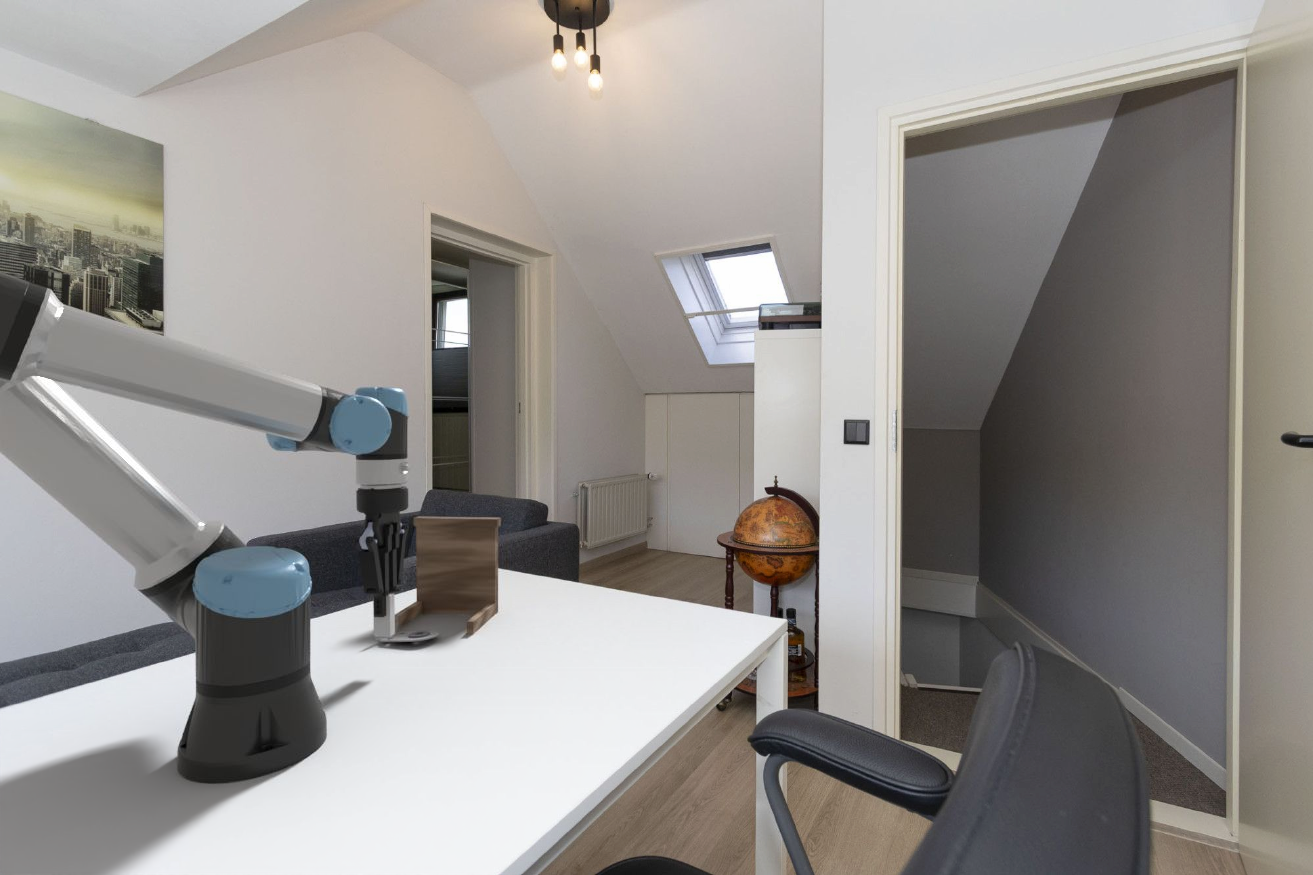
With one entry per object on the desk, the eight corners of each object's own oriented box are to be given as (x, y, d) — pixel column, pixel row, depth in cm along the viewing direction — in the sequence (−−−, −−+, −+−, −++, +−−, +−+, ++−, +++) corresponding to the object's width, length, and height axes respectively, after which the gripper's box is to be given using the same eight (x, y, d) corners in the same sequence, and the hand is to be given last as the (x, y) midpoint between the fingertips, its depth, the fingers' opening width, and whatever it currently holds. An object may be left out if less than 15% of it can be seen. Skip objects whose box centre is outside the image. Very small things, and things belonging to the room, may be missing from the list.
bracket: (425, 645, 111) (426, 625, 111) (373, 641, 113) (374, 621, 113) (445, 636, 118) (446, 617, 118) (396, 632, 120) (396, 614, 120)
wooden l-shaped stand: (475, 635, 119) (475, 529, 119) (384, 632, 120) (383, 527, 120) (500, 612, 134) (500, 517, 133) (418, 610, 135) (418, 516, 134)
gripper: (385, 490, 95) (387, 650, 95) (423, 482, 108) (425, 622, 108) (336, 490, 95) (338, 649, 96) (380, 481, 108) (381, 621, 109)
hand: (384, 634), depth 102 cm, fingers closed
